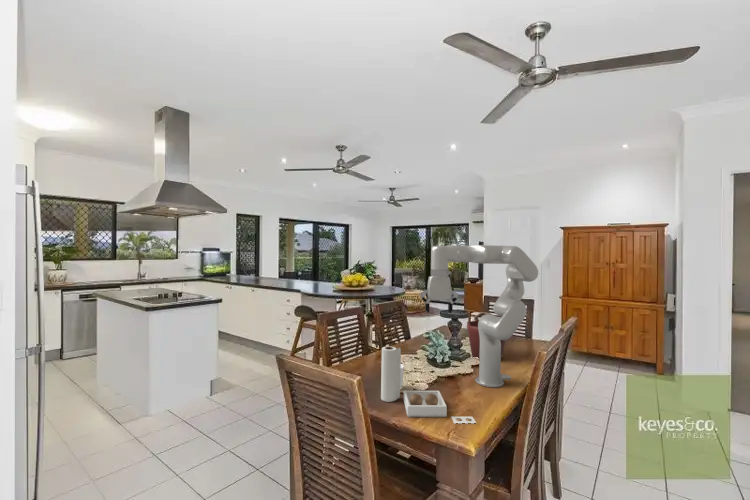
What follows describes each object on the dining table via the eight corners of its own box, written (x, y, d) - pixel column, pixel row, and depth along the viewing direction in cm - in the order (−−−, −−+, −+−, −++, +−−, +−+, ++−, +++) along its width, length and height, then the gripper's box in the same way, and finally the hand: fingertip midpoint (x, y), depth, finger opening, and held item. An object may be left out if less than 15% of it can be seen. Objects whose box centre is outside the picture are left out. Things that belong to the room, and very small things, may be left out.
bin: (438, 400, 153) (439, 390, 153) (446, 417, 138) (446, 406, 138) (403, 400, 153) (403, 390, 152) (407, 416, 138) (407, 406, 138)
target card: (472, 417, 138) (472, 416, 138) (476, 423, 133) (476, 422, 133) (451, 417, 138) (451, 416, 138) (454, 423, 133) (454, 422, 133)
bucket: (465, 349, 227) (466, 308, 227) (502, 351, 224) (503, 310, 224) (469, 362, 203) (470, 316, 202) (511, 364, 200) (512, 318, 199)
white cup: (394, 383, 171) (394, 361, 171) (407, 388, 165) (407, 366, 165) (382, 387, 165) (382, 365, 165) (395, 393, 160) (395, 370, 159)
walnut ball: (421, 403, 148) (421, 391, 148) (423, 409, 143) (423, 396, 143) (409, 404, 148) (409, 391, 148) (410, 409, 143) (410, 397, 143)
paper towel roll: (378, 400, 152) (379, 348, 151) (383, 395, 157) (384, 345, 157) (395, 403, 149) (396, 351, 149) (400, 398, 155) (400, 347, 154)
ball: (436, 403, 148) (436, 391, 148) (439, 409, 143) (439, 396, 143) (424, 403, 148) (424, 391, 148) (426, 409, 143) (426, 396, 143)
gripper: (456, 273, 167) (456, 310, 168) (418, 272, 167) (418, 310, 167) (461, 274, 160) (460, 314, 160) (421, 274, 159) (420, 313, 160)
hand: (438, 312), depth 164 cm, fingers open, 9 cm apart
